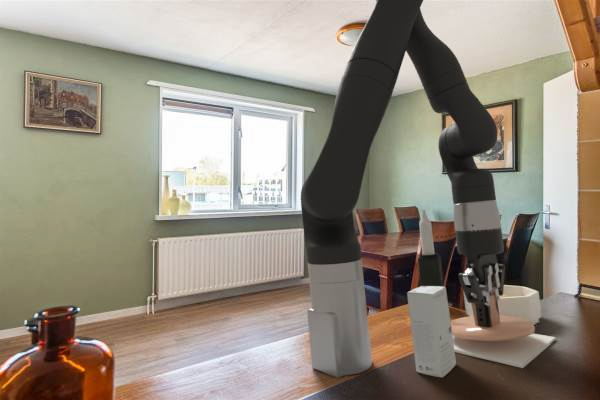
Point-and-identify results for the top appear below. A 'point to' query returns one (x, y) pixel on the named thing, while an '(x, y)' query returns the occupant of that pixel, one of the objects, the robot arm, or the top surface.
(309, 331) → the robot arm
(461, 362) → the top surface
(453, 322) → the lid
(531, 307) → the bowl
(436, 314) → the skincare box
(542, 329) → the top surface
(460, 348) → the mat
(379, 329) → the top surface
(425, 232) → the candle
